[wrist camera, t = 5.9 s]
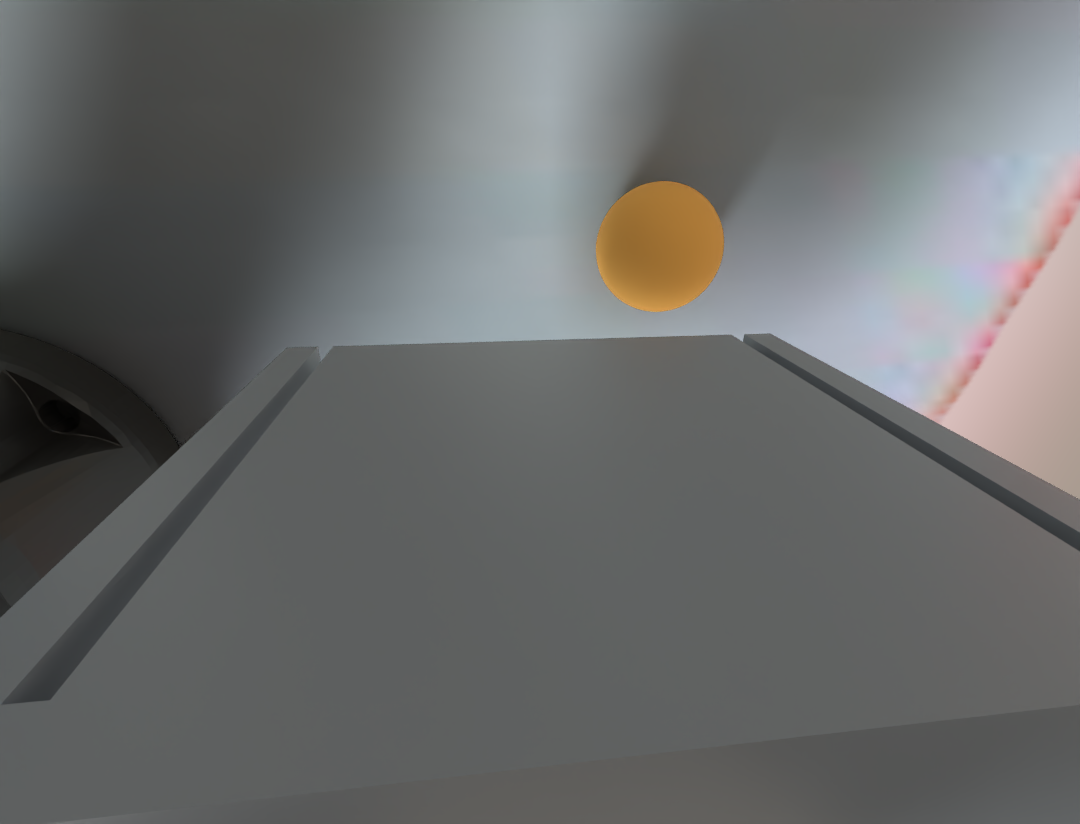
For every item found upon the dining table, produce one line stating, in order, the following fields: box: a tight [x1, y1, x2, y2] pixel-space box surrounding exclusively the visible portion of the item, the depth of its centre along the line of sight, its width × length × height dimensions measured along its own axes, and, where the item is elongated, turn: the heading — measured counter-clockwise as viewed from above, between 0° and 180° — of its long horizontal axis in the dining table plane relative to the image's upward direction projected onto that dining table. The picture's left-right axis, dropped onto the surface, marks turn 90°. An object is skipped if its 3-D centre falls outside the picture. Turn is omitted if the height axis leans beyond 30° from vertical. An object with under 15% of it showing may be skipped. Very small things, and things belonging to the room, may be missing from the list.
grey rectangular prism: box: [0, 334, 1080, 824], centre depth 9 cm, size 10×10×9 cm
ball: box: [596, 181, 724, 312], centre depth 22 cm, size 5×5×5 cm
